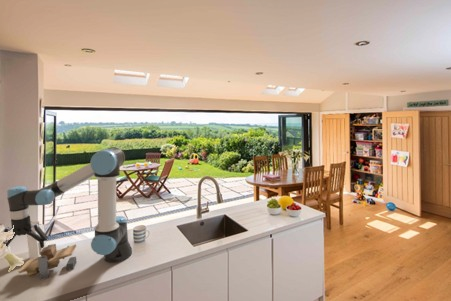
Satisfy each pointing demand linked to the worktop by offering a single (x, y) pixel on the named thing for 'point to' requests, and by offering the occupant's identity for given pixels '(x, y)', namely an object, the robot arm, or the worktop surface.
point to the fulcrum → (44, 266)
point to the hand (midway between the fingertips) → (25, 256)
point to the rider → (49, 251)
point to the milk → (34, 242)
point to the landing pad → (71, 263)
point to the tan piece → (33, 266)
